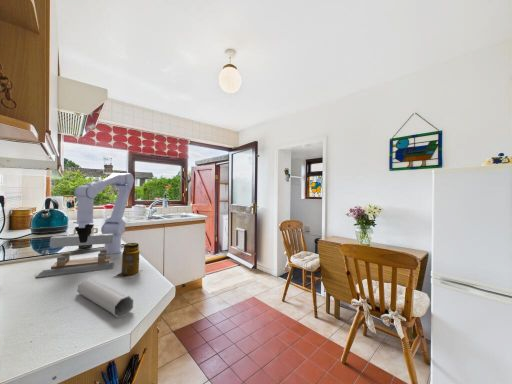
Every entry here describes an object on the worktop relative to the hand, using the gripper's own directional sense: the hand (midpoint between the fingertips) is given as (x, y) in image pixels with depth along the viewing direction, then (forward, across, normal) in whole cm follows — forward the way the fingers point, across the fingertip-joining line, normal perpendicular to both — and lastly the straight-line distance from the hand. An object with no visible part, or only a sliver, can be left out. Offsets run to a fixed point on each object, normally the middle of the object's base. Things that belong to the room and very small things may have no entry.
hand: (84, 241), depth 97 cm
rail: (+1, 0, 0) cm, 1 cm away
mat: (+10, +9, 0) cm, 14 cm away
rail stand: (+10, 0, 0) cm, 10 cm away
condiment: (+10, +23, +18) cm, 31 cm away
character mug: (+10, -31, -4) cm, 33 cm away
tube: (+10, +44, +11) cm, 47 cm away
